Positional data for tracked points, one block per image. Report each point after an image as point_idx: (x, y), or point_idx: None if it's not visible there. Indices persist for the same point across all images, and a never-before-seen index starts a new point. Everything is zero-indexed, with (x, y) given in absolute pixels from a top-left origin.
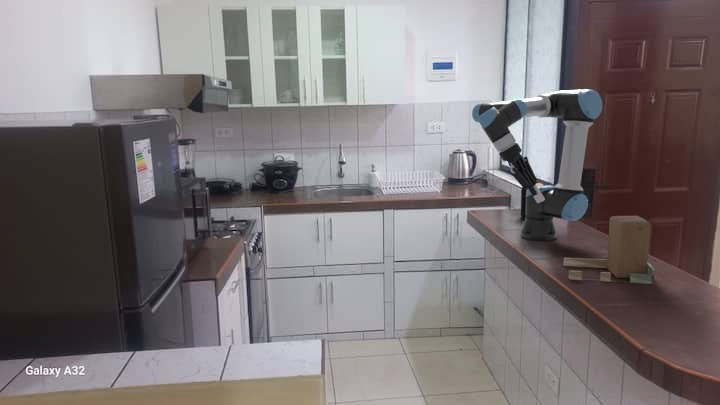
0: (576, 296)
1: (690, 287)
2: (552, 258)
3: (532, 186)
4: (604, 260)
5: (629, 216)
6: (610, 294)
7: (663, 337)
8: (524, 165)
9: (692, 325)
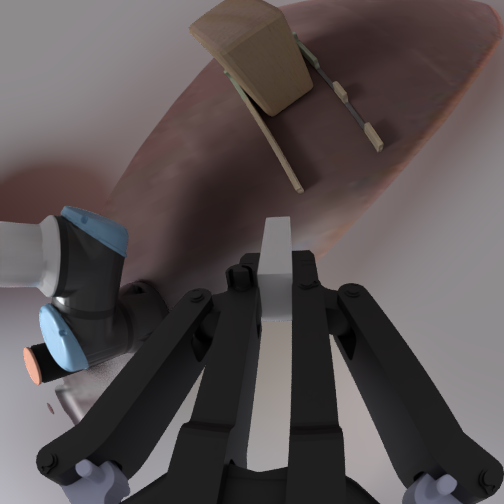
0: (449, 115)
1: None
2: None
3: (316, 280)
4: (260, 119)
5: (206, 27)
6: (398, 75)
7: (465, 22)
8: (225, 469)
9: (412, 3)
